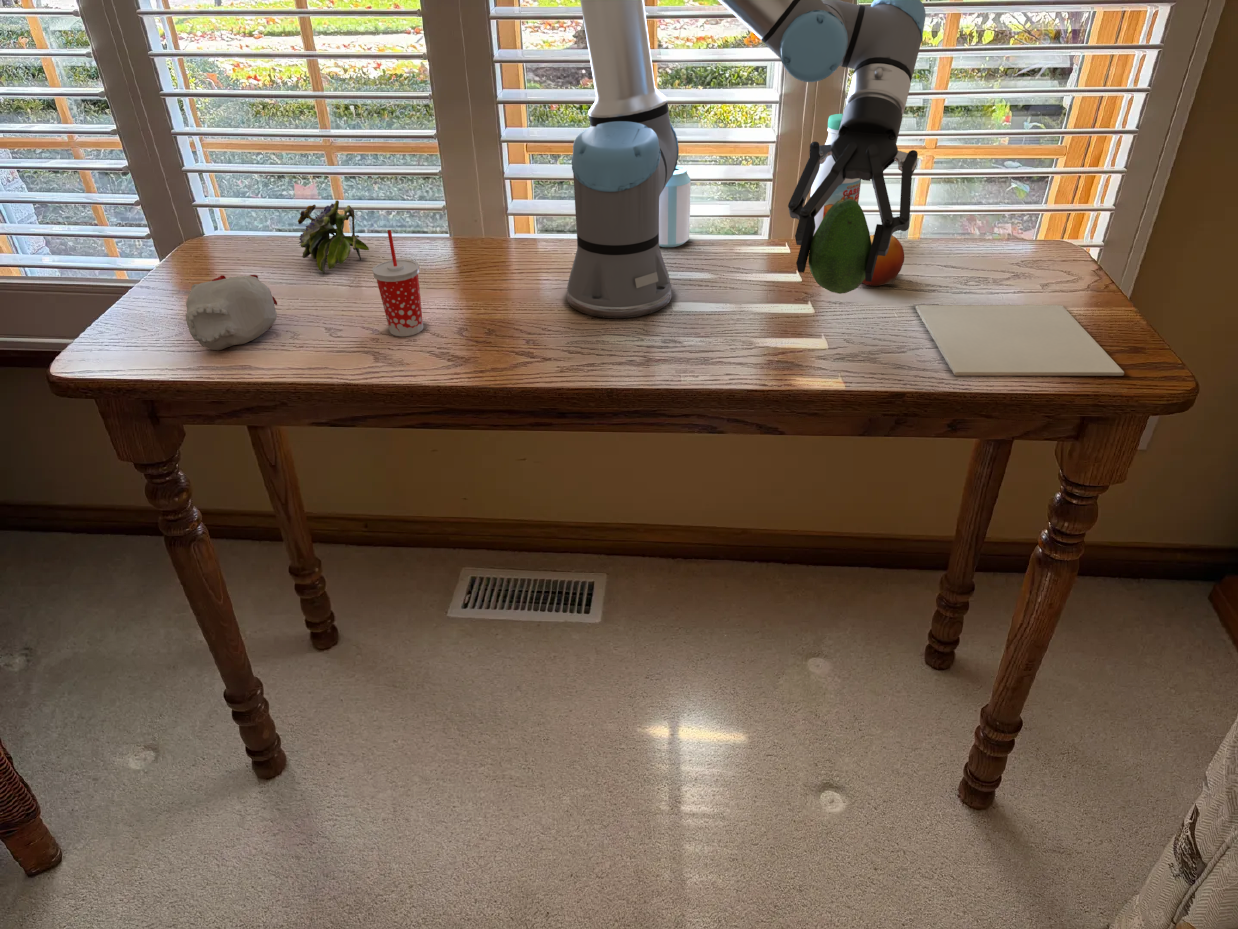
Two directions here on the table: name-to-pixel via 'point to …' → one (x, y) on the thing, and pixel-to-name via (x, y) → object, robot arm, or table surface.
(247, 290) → the grey rounded lump
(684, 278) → the table surface
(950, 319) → the corner mat
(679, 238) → the can
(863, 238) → the avocado
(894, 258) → the fruit
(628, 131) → the robot arm
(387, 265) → the beverage cup
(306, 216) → the passion flower
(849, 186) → the milk bottle
